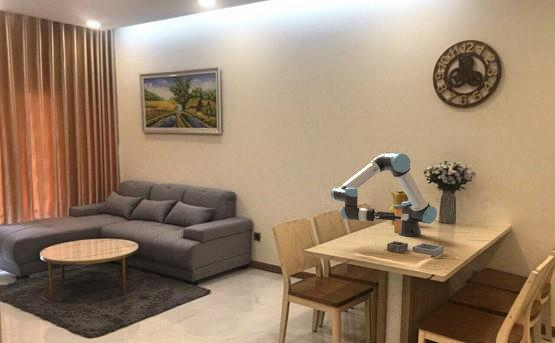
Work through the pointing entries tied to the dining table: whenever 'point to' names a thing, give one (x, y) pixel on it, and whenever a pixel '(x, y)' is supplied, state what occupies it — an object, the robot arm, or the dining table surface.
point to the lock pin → (398, 222)
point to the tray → (429, 249)
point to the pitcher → (397, 200)
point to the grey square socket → (397, 247)
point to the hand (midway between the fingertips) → (407, 217)
